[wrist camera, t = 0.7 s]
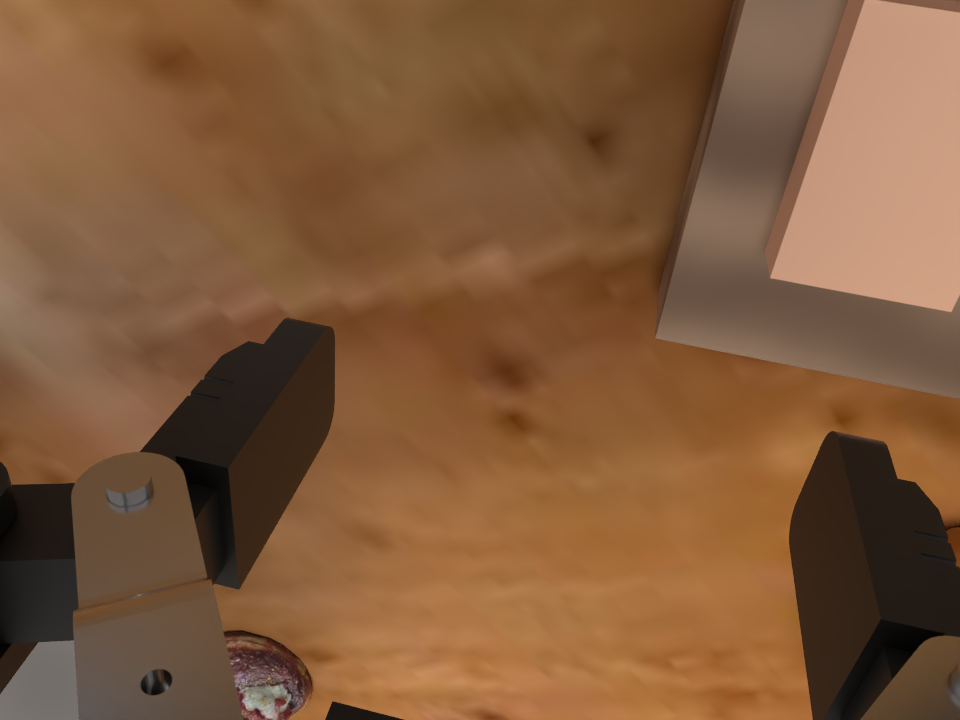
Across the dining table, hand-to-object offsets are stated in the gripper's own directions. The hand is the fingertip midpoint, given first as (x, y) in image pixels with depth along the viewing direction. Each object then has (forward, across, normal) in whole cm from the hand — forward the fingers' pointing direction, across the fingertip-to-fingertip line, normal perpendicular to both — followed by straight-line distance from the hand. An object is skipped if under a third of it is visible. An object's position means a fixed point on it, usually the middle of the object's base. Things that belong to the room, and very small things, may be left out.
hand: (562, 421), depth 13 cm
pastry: (+23, +17, +44) cm, 52 cm away
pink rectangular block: (+19, -9, 0) cm, 21 cm away
